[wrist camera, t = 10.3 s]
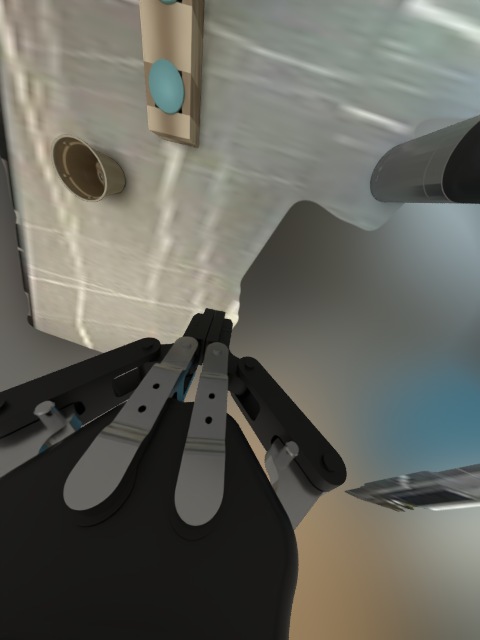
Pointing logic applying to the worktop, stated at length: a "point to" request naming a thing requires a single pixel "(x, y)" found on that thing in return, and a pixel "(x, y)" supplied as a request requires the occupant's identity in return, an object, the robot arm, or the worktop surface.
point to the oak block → (174, 63)
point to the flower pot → (85, 169)
